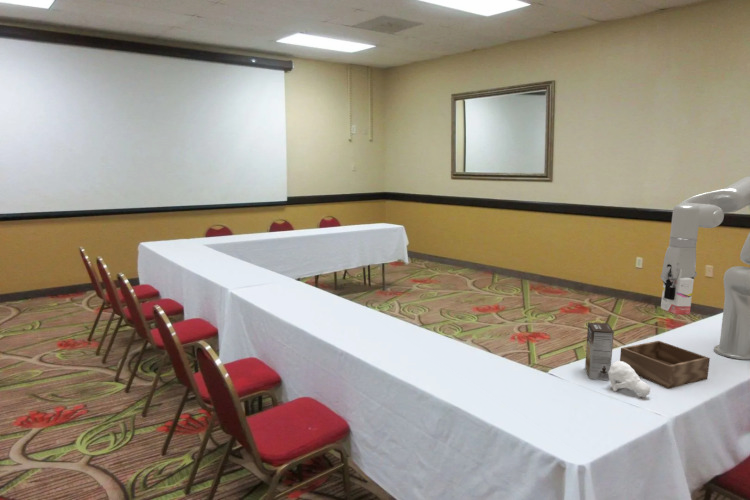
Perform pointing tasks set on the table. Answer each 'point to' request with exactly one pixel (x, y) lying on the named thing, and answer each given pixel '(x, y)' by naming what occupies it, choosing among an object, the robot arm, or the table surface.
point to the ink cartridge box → (679, 297)
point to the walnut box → (666, 364)
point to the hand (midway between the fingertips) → (676, 297)
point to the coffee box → (599, 350)
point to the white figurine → (627, 379)
